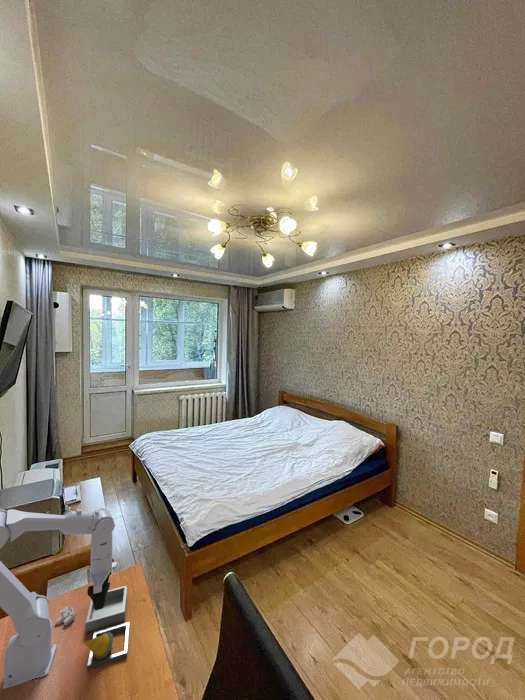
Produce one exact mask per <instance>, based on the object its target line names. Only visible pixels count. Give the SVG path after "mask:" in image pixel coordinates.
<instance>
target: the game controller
mask: <svg viewBox="0 0 525 700" xmlns="http://www.w3.org/2000/svg"><path fill="white" fill-rule="evenodd" d="M88 605H89V606H90V603H88V604H87V605H86V604H82V605H80V606H79V608H81V607H83V606H88ZM75 611H77V609H74V607H73V605H67V606H65V607H64V608H62V609H60V611H59V613H60V616H59V617H58V618H56V619H55V624H56V625H60V624H62V623H64V626H68V625H69V624H70V623H71V622H72V621H73V620H75V617H76V613H75Z"/></svg>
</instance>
